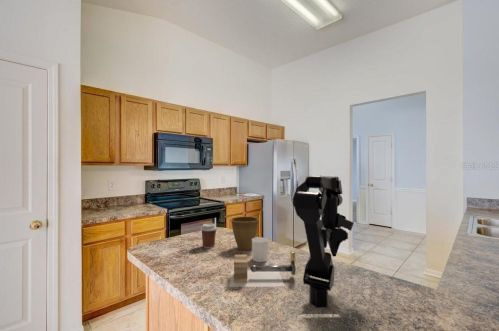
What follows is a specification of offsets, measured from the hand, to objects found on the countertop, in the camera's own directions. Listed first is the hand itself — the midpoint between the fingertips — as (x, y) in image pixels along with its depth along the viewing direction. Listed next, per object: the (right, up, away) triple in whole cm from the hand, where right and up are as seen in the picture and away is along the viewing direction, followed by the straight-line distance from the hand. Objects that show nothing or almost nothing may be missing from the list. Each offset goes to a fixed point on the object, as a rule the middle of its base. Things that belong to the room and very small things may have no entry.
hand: (329, 251), depth 88 cm
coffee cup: (-52, -13, +43) cm, 69 cm away
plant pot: (-32, -13, +41) cm, 54 cm away
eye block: (-33, -12, +4) cm, 35 cm away
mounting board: (-27, -12, +4) cm, 30 cm away
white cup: (-25, -13, +23) cm, 36 cm away
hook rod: (-21, -10, +4) cm, 23 cm away
